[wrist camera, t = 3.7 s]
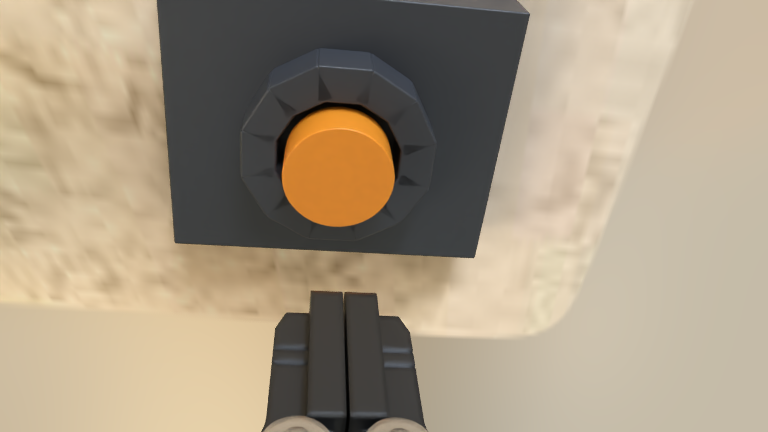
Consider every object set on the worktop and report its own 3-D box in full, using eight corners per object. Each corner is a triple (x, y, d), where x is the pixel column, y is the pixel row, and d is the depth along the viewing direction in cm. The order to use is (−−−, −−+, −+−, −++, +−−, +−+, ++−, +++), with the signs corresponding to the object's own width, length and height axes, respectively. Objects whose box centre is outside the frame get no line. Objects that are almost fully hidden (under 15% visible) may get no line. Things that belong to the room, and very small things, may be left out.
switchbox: (514, -3, 23) (546, 29, 20) (465, 229, 28) (483, 286, 25) (169, -38, 22) (139, -10, 18) (185, 214, 27) (164, 272, 23)
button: (396, 110, 21) (401, 132, 20) (384, 203, 23) (388, 230, 22) (286, 101, 21) (283, 124, 19) (283, 197, 23) (280, 224, 21)
